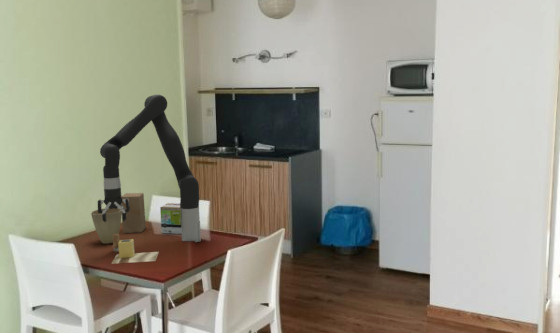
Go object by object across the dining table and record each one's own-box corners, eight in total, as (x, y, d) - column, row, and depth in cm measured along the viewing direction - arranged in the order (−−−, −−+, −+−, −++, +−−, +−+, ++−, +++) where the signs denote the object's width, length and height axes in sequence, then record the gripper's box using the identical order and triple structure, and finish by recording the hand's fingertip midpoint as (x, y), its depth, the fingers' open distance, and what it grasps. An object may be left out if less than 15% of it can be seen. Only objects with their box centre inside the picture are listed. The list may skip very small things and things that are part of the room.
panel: (159, 254, 259) (158, 251, 258) (155, 263, 245) (155, 260, 245) (117, 256, 257) (116, 254, 256) (111, 266, 243) (111, 263, 243)
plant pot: (113, 236, 294) (110, 206, 291) (129, 240, 284) (127, 209, 282) (87, 242, 282) (85, 212, 280) (104, 247, 273) (101, 215, 271)
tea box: (161, 233, 295) (159, 206, 293) (168, 229, 305) (167, 202, 303) (187, 234, 292) (186, 207, 290) (194, 229, 302) (193, 203, 300)
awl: (121, 252, 264) (119, 233, 263) (119, 253, 261) (118, 235, 260) (114, 252, 264) (113, 234, 262) (113, 254, 261) (111, 235, 259)
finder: (134, 253, 256) (133, 238, 255) (133, 257, 251) (131, 241, 250) (121, 254, 256) (120, 239, 255) (119, 258, 251) (118, 242, 250)
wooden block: (141, 232, 299) (138, 196, 296) (122, 233, 299) (120, 196, 296) (146, 228, 309) (143, 192, 306) (128, 228, 309) (125, 193, 306)
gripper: (94, 189, 253) (97, 223, 256) (126, 187, 255) (129, 222, 257) (98, 186, 261) (100, 220, 263) (129, 184, 262) (131, 218, 265)
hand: (114, 221), depth 260 cm, fingers open, 8 cm apart
